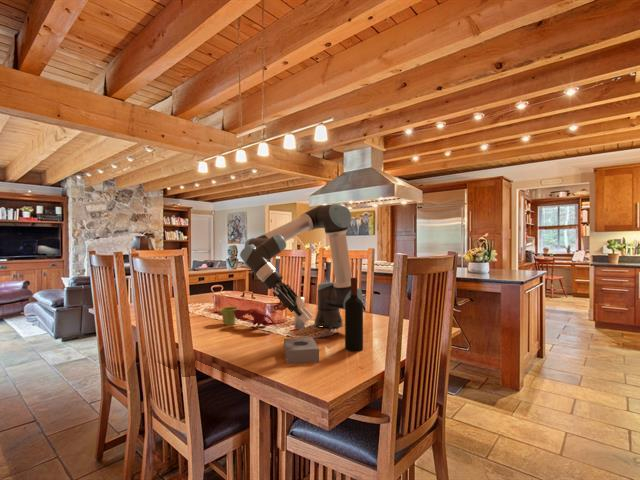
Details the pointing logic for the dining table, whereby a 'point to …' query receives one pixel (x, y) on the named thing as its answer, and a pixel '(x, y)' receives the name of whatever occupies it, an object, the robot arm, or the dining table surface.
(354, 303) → the wine bottle
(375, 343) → the dining table surface
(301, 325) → the steel pin
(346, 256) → the robot arm
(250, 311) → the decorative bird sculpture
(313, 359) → the charcoal hole block
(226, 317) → the plant pot
